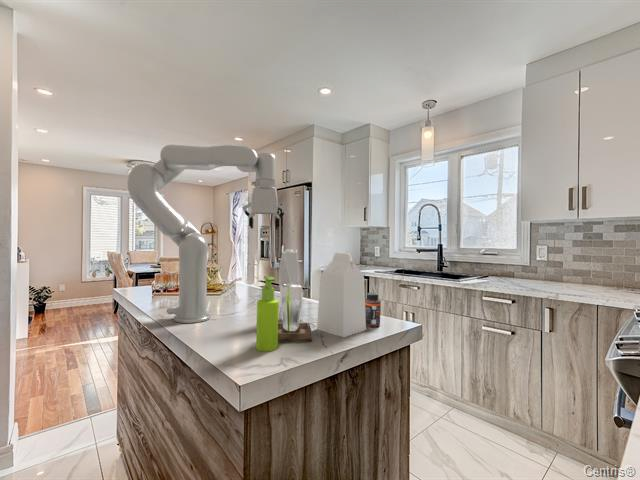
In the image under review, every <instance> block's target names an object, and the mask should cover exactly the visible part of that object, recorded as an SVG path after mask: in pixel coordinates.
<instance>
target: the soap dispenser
mask: <svg viewBox="0 0 640 480" xmlns="http://www.w3.org/2000/svg"><path fill="white" fill-rule="evenodd" d="M263 279H265V281H264V287H262V289H261V299H258V300H257V301H256V302H257V303H256V337H255V338H256V342H255V343H256V344H255V348H256V350H257V351H259V352H272V351H276V350H277V349H278V348H279V347H278V346H279V345H278V343H279V342H278V317H279V304H280V303H279V302H280V300H279V299H275V288H274V287H273V286H272V282H275V281H276V278H275V277H274V276H272V275H265V276H263Z"/></svg>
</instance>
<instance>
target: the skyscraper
mask: <svg viewBox="0 0 640 480" xmlns="http://www.w3.org/2000/svg"><path fill="white" fill-rule="evenodd" d="M299 266H300V265H299V257H298V250H297V249H296V250H295V251H294V249H285V251H284V245H282V246H281V255H280V262H279V268H278V270H279V271H278V286H279V293H280V295H281V285H284V284H299V282H300V267H299ZM278 323H283V319H282V312H281V306H280V308H279V311H278ZM299 323H302V320H300V321H299Z"/></svg>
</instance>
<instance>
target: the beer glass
mask: <svg viewBox="0 0 640 480" xmlns="http://www.w3.org/2000/svg"><path fill="white" fill-rule="evenodd" d="M279 297H280V300H279V302H280V303H279V304H280V307H281V312H282V319H283V324H282V330H281V333H301V331H300V324H299V323H300V322H299V321H300V319H301V313H302V307H303V286H302V284H299V283H298V284H284V285H281V295H280V296H279Z"/></svg>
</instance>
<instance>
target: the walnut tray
mask: <svg viewBox="0 0 640 480" xmlns="http://www.w3.org/2000/svg"><path fill="white" fill-rule="evenodd" d="M282 324H283V323H278V343H302V342H303V343H309V342H313V332H312V331H313V330H312V328H311V324H310V322H299V324H300V331H301V333H281V330H282Z"/></svg>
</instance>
